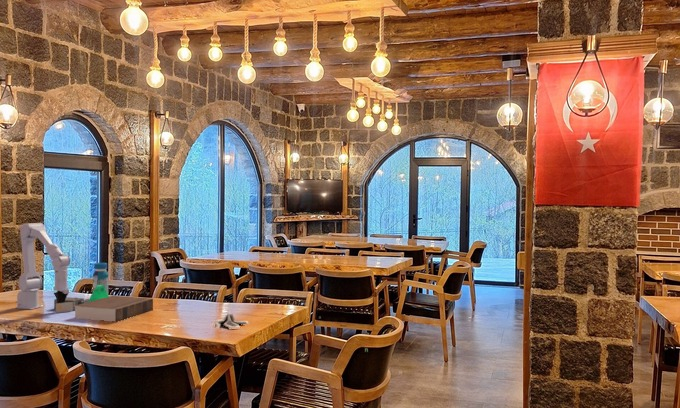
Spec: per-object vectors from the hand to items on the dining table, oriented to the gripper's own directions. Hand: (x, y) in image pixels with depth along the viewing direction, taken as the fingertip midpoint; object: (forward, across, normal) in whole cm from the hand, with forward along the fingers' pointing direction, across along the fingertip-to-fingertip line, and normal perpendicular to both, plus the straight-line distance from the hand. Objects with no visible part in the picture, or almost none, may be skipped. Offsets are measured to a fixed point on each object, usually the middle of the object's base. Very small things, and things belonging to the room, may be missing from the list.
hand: (60, 306), depth 279 cm
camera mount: (+3, +3, -23) cm, 23 cm away
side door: (+3, -2, -1) cm, 4 cm away
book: (+3, -25, -16) cm, 30 cm away
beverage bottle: (+3, +21, -30) cm, 36 cm away
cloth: (+3, -84, -41) cm, 93 cm away
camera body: (+3, +4, -6) cm, 8 cm away
